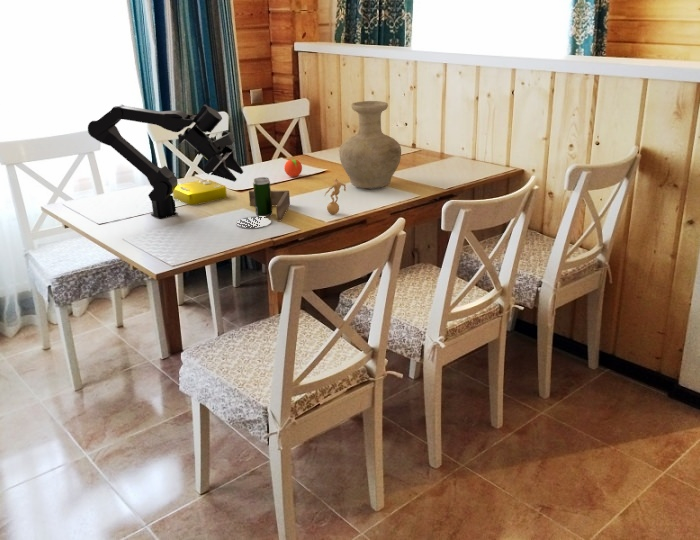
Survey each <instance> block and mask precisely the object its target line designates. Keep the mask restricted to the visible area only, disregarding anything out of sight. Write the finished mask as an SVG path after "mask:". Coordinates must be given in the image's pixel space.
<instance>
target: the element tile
mask: <svg viewBox="0 0 700 540" xmlns="http://www.w3.org/2000/svg"><path fill="white" fill-rule="evenodd" d="M172 196H173V199H175V198H176V199H175V200H177V199H178V200H177V201H179V200H180V201H179V202H182V203H184V204H186V205H188V204H189V205H190V206H196V205H200V204H205V203H210V202H213V201H219V200H222V199H226V198H227V197H228V194H227V186H226V185H223V184H222V183H219V182H217V181H213V180H211V179H208V178H205V179H200V180H196V181H190V182H185V183H180V184H177V187H176V188H175V189H174V190H173V193H172ZM218 199H219V200H218Z"/></svg>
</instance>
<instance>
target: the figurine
mask: <svg viewBox="0 0 700 540" xmlns="http://www.w3.org/2000/svg"><path fill="white" fill-rule="evenodd" d="M342 186H343V188H344V189H343V191H344V192H346V191H347V189H346V184H344V183H343V182H340V181H339V180H337V179H336V178H334V180H333V185H332V186H330V187H329V188H328V190H326V192H325V194H324V196H326V195H327V194H328V193H329V191H331V190H332V189H334V190H332V192H331V194H330V195H329V196H330V198H331V200H332V201H331V202H329V203H328V204H327V206H326V210H327V212H328V214H330V215H336V214H337V213H338V212H339V211H340V205H339V204H338V202H337V201H338V198H339V197H338V195H339V194H340V192H341V191H340V189H341V187H342ZM334 196H335V198H334Z"/></svg>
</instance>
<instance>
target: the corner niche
mask: <svg viewBox="0 0 700 540" xmlns="http://www.w3.org/2000/svg"><path fill="white" fill-rule="evenodd" d="M248 196H249V197H248V199H249V206H250V207H251V206H252V207H253V206H254V207H255V197H254V190H249V191H248ZM290 199H291V198H290V190H271V201H272V205H277V206H275V209H276V211H275V212H276V221H277V220H281V219H282V220H283V218H284V217H283V216H285V215H286V213H287V211H288V209H289V208H290V206H291V200H290ZM289 205H290V206H289ZM288 207H289V208H288ZM286 210H287V211H286ZM285 212H286V213H285ZM284 214H285V215H284ZM282 220H281V221H282Z"/></svg>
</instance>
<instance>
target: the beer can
mask: <svg viewBox="0 0 700 540" xmlns="http://www.w3.org/2000/svg"><path fill="white" fill-rule="evenodd" d="M252 185H253V186H252V187H253V191H254V197H255V206H254V207H255V214H256V216H268V217H271V216H272V215H271V214H273V206H272V201H271V191H272V190H271V181H270V178H269V177H265V176H262V177H256V178H254V179H253V182H252ZM270 215H271V216H270Z"/></svg>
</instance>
